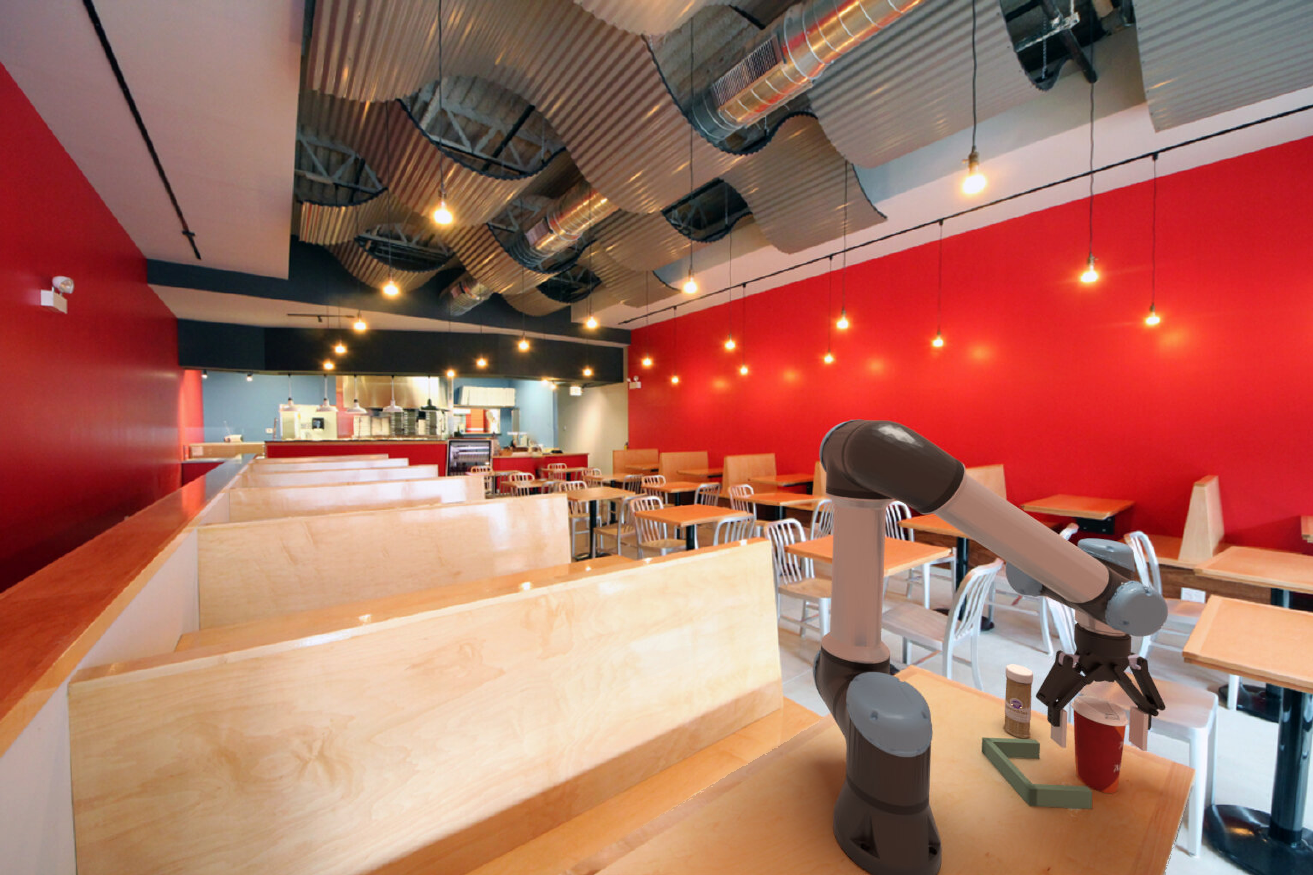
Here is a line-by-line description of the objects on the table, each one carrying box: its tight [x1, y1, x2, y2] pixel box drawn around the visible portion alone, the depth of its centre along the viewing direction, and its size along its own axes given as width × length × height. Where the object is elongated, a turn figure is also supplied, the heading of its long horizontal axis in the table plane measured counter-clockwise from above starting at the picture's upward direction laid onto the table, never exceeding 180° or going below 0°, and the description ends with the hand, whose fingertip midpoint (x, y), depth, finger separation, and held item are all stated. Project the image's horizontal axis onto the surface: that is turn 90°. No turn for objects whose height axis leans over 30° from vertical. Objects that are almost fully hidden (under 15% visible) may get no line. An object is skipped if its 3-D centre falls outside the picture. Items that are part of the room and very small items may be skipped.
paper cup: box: [1070, 694, 1130, 794], centre depth 89 cm, size 8×8×14 cm
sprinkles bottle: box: [1003, 663, 1034, 739], centre depth 103 cm, size 5×5×14 cm
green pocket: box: [981, 736, 1093, 810], centre depth 90 cm, size 10×13×3 cm
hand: (1097, 744), depth 89 cm, fingers open, 13 cm apart
